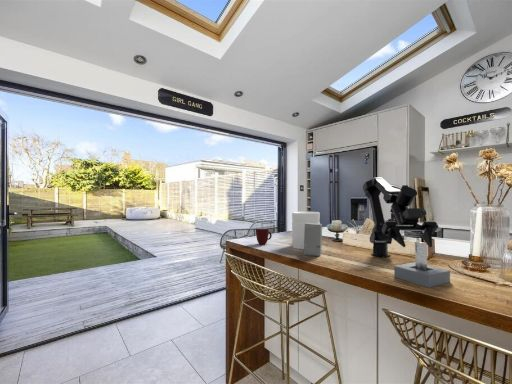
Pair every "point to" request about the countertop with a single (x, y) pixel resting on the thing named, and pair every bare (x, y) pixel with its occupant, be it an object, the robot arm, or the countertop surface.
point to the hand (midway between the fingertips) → (417, 246)
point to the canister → (302, 226)
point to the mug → (263, 235)
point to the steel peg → (421, 256)
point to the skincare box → (313, 239)
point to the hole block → (422, 275)
